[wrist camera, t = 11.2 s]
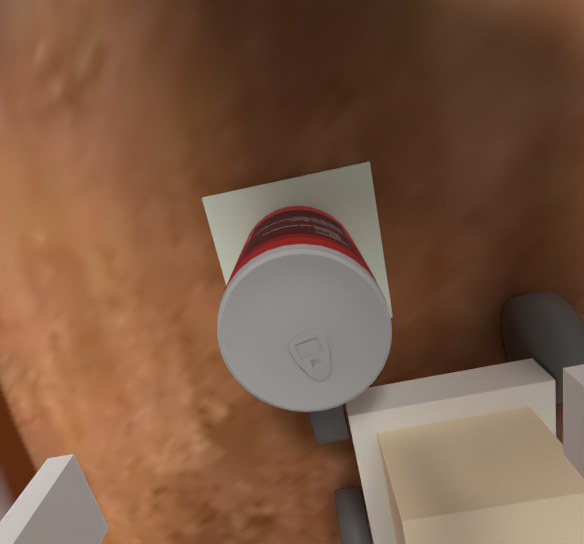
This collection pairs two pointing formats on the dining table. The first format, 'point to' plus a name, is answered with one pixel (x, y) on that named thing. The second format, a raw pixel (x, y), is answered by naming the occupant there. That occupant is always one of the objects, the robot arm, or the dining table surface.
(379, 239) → the mat
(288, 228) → the canned food
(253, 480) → the dining table surface
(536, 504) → the trolley
